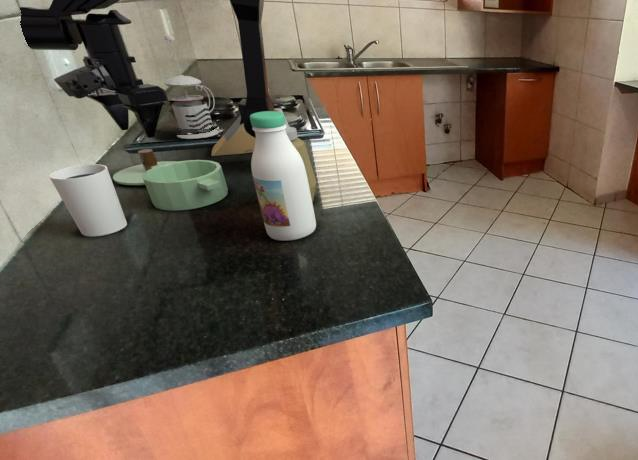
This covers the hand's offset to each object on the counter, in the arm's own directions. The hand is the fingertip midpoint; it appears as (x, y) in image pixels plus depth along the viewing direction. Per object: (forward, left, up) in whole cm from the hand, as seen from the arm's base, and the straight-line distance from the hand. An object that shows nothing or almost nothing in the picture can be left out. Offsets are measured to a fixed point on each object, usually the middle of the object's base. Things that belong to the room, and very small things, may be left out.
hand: (137, 133), depth 86 cm
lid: (0, 0, -9) cm, 9 cm away
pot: (-12, +12, -9) cm, 19 cm away
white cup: (-4, +24, -9) cm, 26 cm away
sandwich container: (-12, -19, -9) cm, 25 cm away
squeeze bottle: (-32, +16, -9) cm, 37 cm away
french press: (+4, -33, -9) cm, 35 cm away
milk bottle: (-34, +28, -9) cm, 45 cm away
